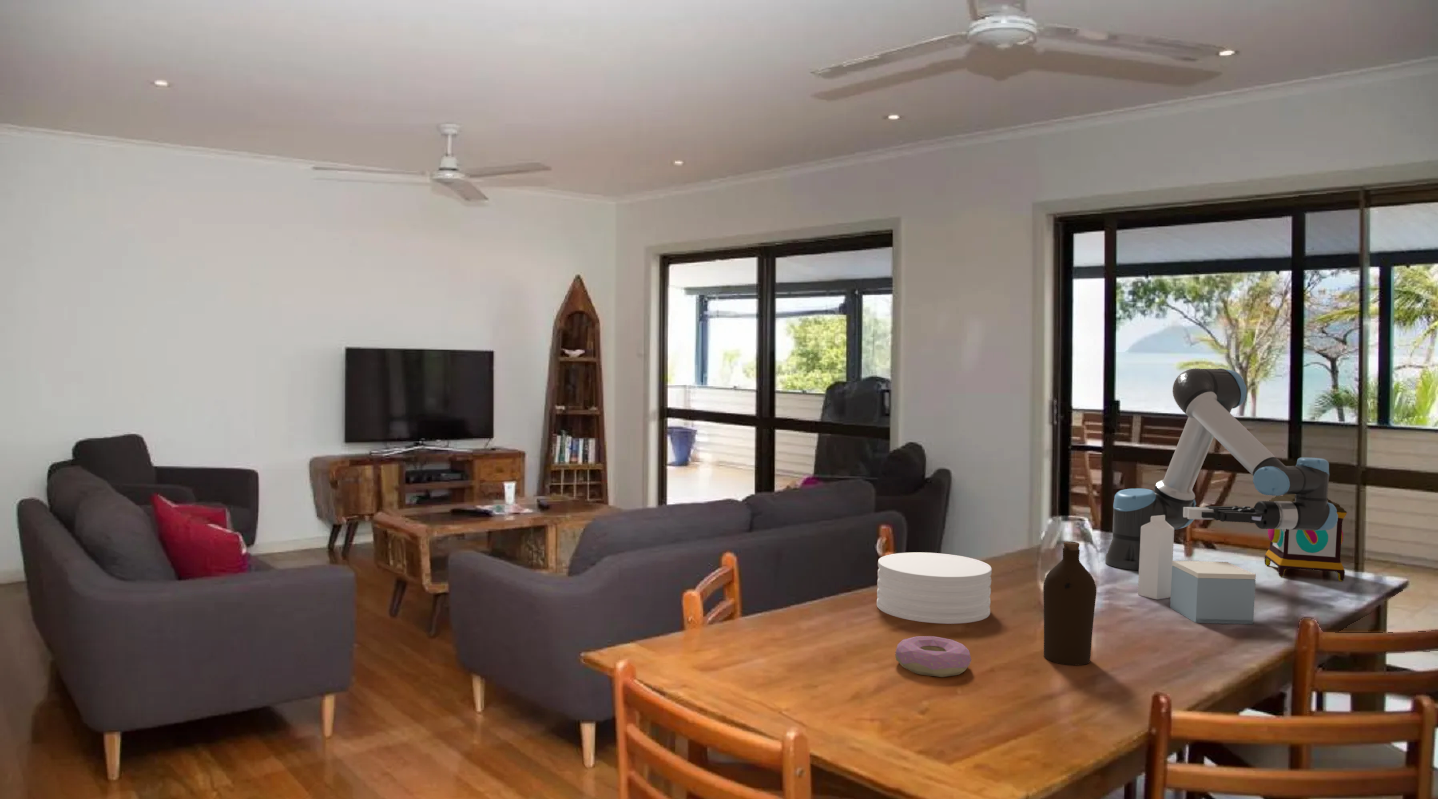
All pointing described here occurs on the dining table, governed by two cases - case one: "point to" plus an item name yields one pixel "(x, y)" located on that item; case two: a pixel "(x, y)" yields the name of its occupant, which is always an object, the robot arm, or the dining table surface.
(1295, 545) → the decorative lantern
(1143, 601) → the dining table surface
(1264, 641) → the dining table surface
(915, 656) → the donut
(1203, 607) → the box
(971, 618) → the plate stack
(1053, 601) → the olive oil
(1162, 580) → the milk
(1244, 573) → the lid
